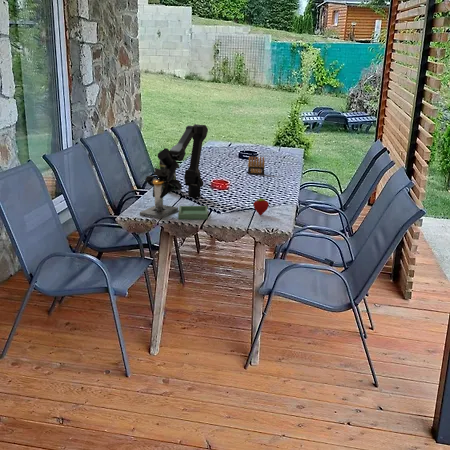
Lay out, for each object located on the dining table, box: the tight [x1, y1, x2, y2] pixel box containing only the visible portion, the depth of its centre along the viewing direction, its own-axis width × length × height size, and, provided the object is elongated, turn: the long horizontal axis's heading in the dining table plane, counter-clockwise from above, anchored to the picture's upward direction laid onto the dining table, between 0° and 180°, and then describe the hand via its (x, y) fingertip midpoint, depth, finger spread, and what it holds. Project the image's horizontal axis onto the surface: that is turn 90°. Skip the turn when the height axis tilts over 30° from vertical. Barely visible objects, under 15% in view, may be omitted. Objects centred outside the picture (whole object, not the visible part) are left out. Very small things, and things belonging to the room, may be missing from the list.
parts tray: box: [177, 205, 209, 220], centre depth 260 cm, size 14×14×2 cm
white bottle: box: [153, 179, 164, 212], centre depth 260 cm, size 5×5×16 cm
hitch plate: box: [139, 204, 179, 220], centre depth 262 cm, size 16×12×2 cm
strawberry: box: [253, 197, 270, 216], centre depth 259 cm, size 6×8×10 cm
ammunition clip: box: [247, 155, 266, 176], centre depth 341 cm, size 11×2×12 cm, turn 83°
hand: (157, 197), depth 259 cm, fingers closed on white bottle, 4 cm apart
